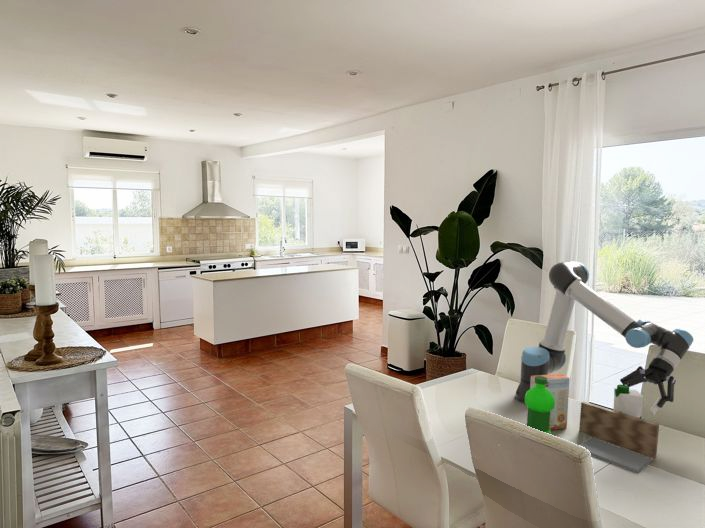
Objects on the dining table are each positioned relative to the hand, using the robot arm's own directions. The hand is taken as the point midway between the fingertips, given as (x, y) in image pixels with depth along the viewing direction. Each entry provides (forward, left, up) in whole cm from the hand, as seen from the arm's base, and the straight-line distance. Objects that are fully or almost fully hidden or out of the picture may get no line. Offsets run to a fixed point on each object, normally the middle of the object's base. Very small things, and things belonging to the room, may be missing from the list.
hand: (634, 405), depth 179 cm
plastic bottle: (-20, -35, -13) cm, 42 cm away
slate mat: (+1, -21, -13) cm, 24 cm away
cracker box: (-25, -18, -13) cm, 33 cm away
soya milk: (-2, -2, -13) cm, 13 cm away
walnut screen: (-2, -11, -13) cm, 17 cm away
